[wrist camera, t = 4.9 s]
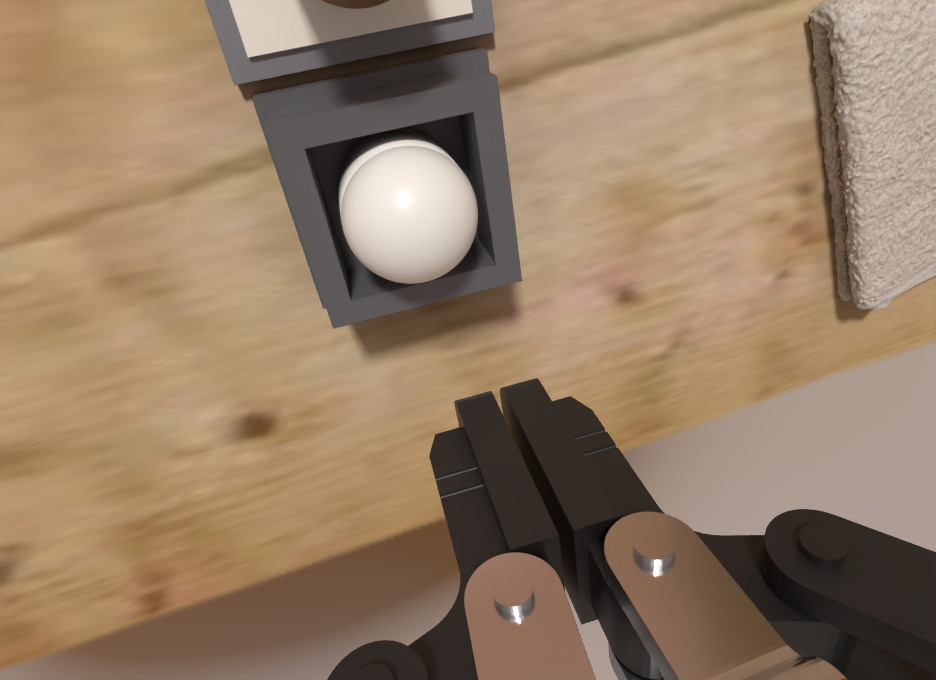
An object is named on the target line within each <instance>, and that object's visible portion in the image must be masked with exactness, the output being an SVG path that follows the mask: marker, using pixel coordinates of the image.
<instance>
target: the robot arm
mask: <svg viewBox="0 0 936 680" xmlns="http://www.w3.org/2000/svg"><path fill="white" fill-rule="evenodd" d="M500 397H501V403H502V410H503V414H502V412H501V410H500V408H499V406H498V404H497V402H496V399H495V397H494V395H493V393H492V392H491V391H489V392H485V393H482V394H478V395H474V396H471V397H467V398H463V399H460V400H456V401H455V409H456V413H457V418H458V423H459V427H460V428H456V429H453V430H449V431H446V432H442V433H438V434H435V437H434V441H433V445H432V448H431V452H430V460H431V464H432V468H433V472H434V475H435V479H436V483H437V487H438V491H439V495H440V498H441V502H442V506H443V510H444V514H445V517H446V521H447V525H448V528H449V532H450V536H451V540H452V543H453V548H454V551H455V555H456V559H457V563H458V566H459V570H460V579H461V581H460V588H459V593H458V596H457V599H456V601H455V603H454V605H453V607H452V608H451V610H450V611H449V613H448V614H447V615H446V617H445V618H444V619H443V620H442V621H441V622H440V623H439V624H438V625H437V626H435V627H434V628H433V629H431V630H430V631H428V632H427V633H426V634H424V635H423V636H421V637H420V638H419V639H417V640H416V641H414V642H413V643H412V644H410V645H409V646H406V645H404V644H402V643H399V642H395V641H387V640H383V641H375V642H372V643H368V644H365V645H363V646H361V647H359V648H357V649H356V650H354V651H352V652H351V653H349V654H348V655H347V656H346V657H345V658H344V659H342V660H341V662H340V663H339V664H338V665H337V666H336V667H335V669H334V670H333V672H332V673H331V675H330V676H329V678H328V679H327V680H596V678H595V675H594V673H593V670H592V667H591V664H590V661H589V659H588V656H587V653H586V650H585V647H584V644H583V642H582V639H581V636H580V633H579V630H578V628H577V625H576V622H575V619H574V616H573V614H572V611H571V608H570V605H569V602H568V600H567V597H566V594H565V587H566V590H567V592H568V594H569V597H570V599H571V601H572V603H573V606H574V608H575V610H576V612H577V615H578V617H579V619H580V622H581V624H584V623H587V622H590V621H593V620H597V619H598V620H599V622H600V624H601V627H602V629H603V631H604V633H605V635H606V637H607V640H608V642H609V657H610V662H611V664H612V667H613V670H614V672H615V674H616V675H617V677H618V679H619V680H936V552H934V551H931V550H928V549H925V548H922V547H920V546H917V545H914V544H912V543H909V542H906V541H903V540H901V539H898V538H895V537H893V536H890V535H887V534H884V533H882V532H879V531H876V530H874V529H871V528H868V527H865V526H863V525H860V524H857V523H855V522H852V521H849V520H846V519H844V518H841V517H838V516H836V515H833V514H830V513H826V512H822V511H817V510H809V509H799V510H792V511H788V512H785V513H782V514H780V515H778V516H777V517H775V518H774V519H773V520H772V521H771V522H770V523H769V525H768V527H767V529H766V532H765V535H748V536H747V535H744V536H743V535H742V536H741V535H738V536H737V535H736V536H735V535H734V536H720V535H709V534H703V533H699V532H696V531H693V530H692V529H691V528H690V527H689V526H688V525H686V524H685V523H684V522H682V521H680V520H678V519H677V518H675V517H672V516H670V515H666V514H665V513H664V512H663V511H662V510H661V509H660V508H659V507H658V505H657V504H656V502H655V501H654V500H653V498H652V497H651V495H650V494H649V492H648V491H647V489H646V488H645V486H644V485H643V483H642V482H641V481H640V479H639V478H638V476H637V475H636V473H635V472H634V470H633V469H632V468H631V466H630V465H629V463H628V462H627V460H626V459H625V457H624V456H623V454H622V453H621V451H620V450H619V449H618V448H616V445H615V443H614V441H613V440H612V438H611V437H610V435H609V434H608V433H607V432H605V428H604V427H603V425H602V424H601V422H600V421H599V419H598V418H597V417H596V415H595V414H594V412H593V411H592V409H590V408H588V407H587V406H585V405H584V404H582V403H580V402H579V401H577V400H576V399H574V398H572V397H571V396H570V397H566V398H563V399H559V400H555V401H551V399H550V397H549V396H548V394H547V392H546V391H545V389H544V387H543V386H542V384H541V382H540V381H539V380H538V379H537V378H536V379H532V380H528V381H525V382H521V383H518V384H514V385H510V386H507V387H503V388H501V389H500ZM503 416H504V417H503ZM564 585H565V587H564Z"/></svg>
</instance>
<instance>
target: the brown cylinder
mask: <svg viewBox="0 0 936 680" xmlns="http://www.w3.org/2000/svg"><path fill="white" fill-rule="evenodd" d="M322 1H324V2H326V3H329V4H332V5H335V6H338V7H344V8H351V9H362V8H370V7H374V6H377V5H381V4H383V3H385V2H387V1H390V0H322Z"/></svg>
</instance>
